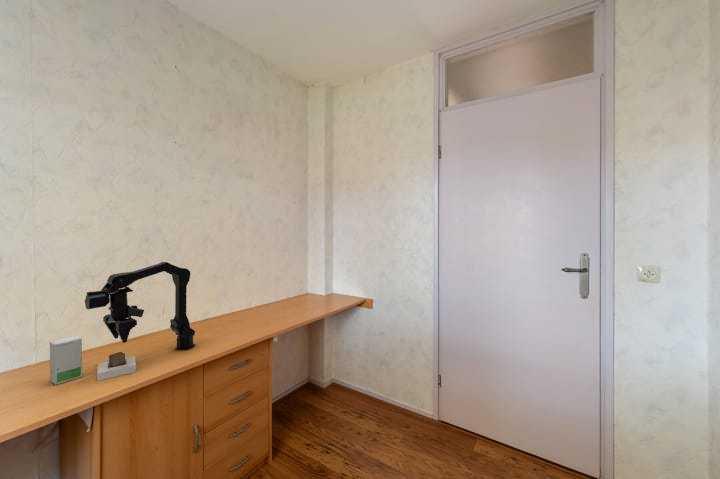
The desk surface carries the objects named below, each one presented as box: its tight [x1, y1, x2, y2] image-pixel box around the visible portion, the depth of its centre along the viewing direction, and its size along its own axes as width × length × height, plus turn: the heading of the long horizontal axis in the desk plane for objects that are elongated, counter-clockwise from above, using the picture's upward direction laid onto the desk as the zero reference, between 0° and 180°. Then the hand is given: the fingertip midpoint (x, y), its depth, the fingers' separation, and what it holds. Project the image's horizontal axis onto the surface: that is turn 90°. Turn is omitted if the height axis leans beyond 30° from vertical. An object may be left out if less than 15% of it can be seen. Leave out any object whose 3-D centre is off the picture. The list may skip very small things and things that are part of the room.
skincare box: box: [49, 335, 83, 386], centre depth 118 cm, size 8×7×16 cm
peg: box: [108, 351, 126, 368], centre depth 124 cm, size 4×4×7 cm
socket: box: [96, 354, 137, 382], centre depth 124 cm, size 12×12×3 cm
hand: (120, 340), depth 127 cm, fingers open, 9 cm apart
